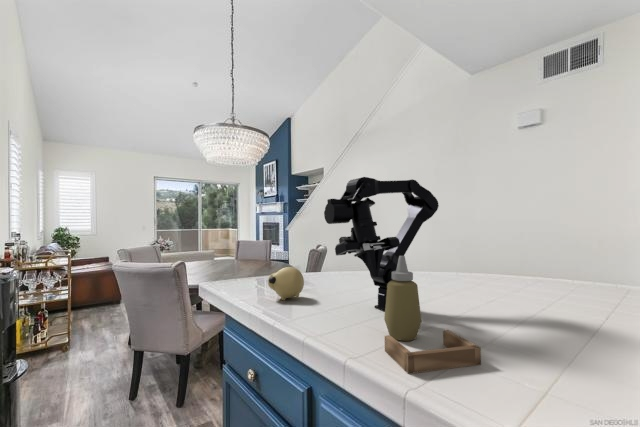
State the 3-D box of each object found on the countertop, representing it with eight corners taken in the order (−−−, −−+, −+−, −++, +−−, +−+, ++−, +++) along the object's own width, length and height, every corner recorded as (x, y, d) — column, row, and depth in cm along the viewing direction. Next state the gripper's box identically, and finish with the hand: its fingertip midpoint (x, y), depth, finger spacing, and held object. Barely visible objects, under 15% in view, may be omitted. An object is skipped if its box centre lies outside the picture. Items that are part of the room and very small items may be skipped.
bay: (384, 350, 60) (384, 335, 60) (448, 344, 63) (448, 329, 63) (408, 373, 51) (407, 355, 51) (480, 364, 54) (480, 347, 54)
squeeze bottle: (424, 345, 63) (423, 258, 63) (384, 342, 64) (383, 257, 65) (419, 331, 71) (418, 254, 71) (384, 329, 72) (383, 253, 73)
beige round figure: (272, 294, 106) (272, 264, 107) (305, 295, 105) (305, 264, 106) (264, 302, 97) (264, 268, 97) (301, 302, 96) (301, 269, 96)
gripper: (371, 228, 96) (382, 277, 91) (320, 231, 87) (331, 286, 82) (394, 217, 87) (408, 271, 82) (340, 219, 77) (353, 279, 73)
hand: (375, 277), depth 80 cm, fingers closed
